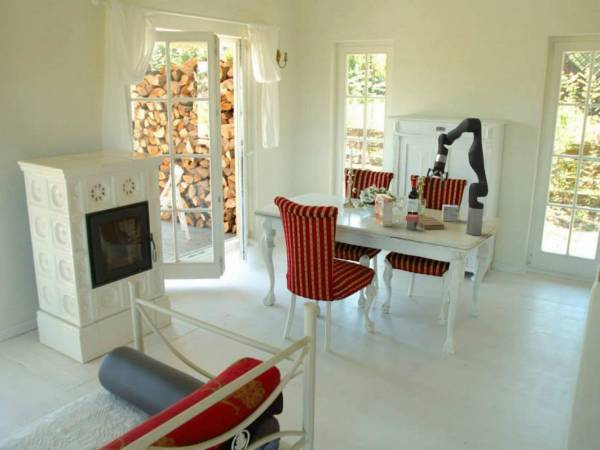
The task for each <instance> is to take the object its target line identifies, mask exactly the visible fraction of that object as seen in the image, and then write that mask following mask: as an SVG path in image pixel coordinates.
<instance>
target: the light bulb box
mask: <svg viewBox="0 0 600 450" xmlns="http://www.w3.org/2000/svg"><path fill="white" fill-rule="evenodd" d="M459 209H460V207H459V205H457V204H442V210H441V221H442V222H454V223H455V222H456V223H457V222H459Z"/></svg>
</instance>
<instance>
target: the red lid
mask: <svg viewBox="0 0 600 450" xmlns="http://www.w3.org/2000/svg"><path fill="white" fill-rule="evenodd" d="M419 217H420V215H418V214H411V213H410V214H409V213H408V214H407V215H405V221H406V222H407V221H413V222H415V221H418V220H419Z"/></svg>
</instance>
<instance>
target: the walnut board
mask: <svg viewBox="0 0 600 450" xmlns="http://www.w3.org/2000/svg"><path fill="white" fill-rule="evenodd" d="M418 226H419V227H420V228H422V230H442V229H443V230H444V229H445V223H443V222H441V221H439V220H438V219H436V218H434V217H433V216H419V220H418V221H417V227H418Z"/></svg>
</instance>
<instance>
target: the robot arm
mask: <svg viewBox="0 0 600 450" xmlns="http://www.w3.org/2000/svg"><path fill="white" fill-rule="evenodd" d="M482 128H483V127H482V121H481V119H480V118H477V117H466V118H465V119H463V120H462V121H461V122H460V123H458V125H457V126H456V127H455V128H453V129H452V130H449V131H448V132H447V133H443V132H442V133H440V134H439V136H438V137H437V148H438V149H437V154H436V157H435V160H434V165H433V168H430V167H429V168H428V169H427V173H426V177H427V178H428V179H427V183H428V185H429V184H430V182H431V179H432V178H433V177H437V178H440V179H441V183H440V187H443V186H444V183H445V182H447V181H448V178H449V172H448V171H445V169H446V165H447V160H448V153H449V148H448V147H446V146H450V147H451V146H452V145H453V144H454V142H456V140H458V139H461V137H462V135H463V133H467V134H468V133H472V134H473V141H472V143H471V146H470V147H469V150H468V153H467V156H468V165H469V166H470V167H471V169H472V170H473V172H474V173H475V174H476V177H477V180H478V182H471V183H470V184H469V187H468V198H467V199H468V201H467V202H468V207H467V208H468V209H467V211H468V212H467V220H466V230H465V231H466V233H465V234H467V235H471V236H482V231H483V222H484V221H483V219H484V218H483V216H484V209H485V204H484V203H483V202H481V201H478V200H479V199H478V198H485V197H487V196H488V194H489V184H488V180H487V175H486V169H485V158H484V157H485V156H484V149H483V139H482V138H483V136H482V133H483V132H482ZM431 172H432V173H431ZM430 173H431V174H430ZM429 174H430V175H429ZM444 174H445V178H444V176H443V175H444Z"/></svg>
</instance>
